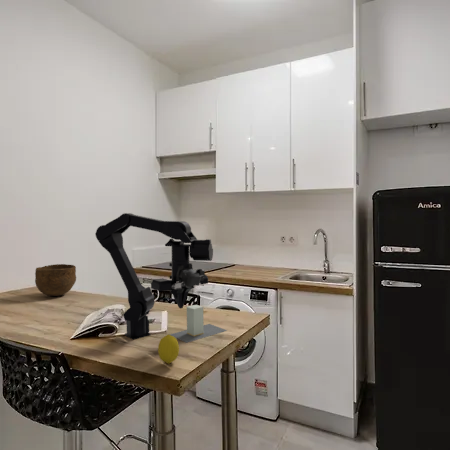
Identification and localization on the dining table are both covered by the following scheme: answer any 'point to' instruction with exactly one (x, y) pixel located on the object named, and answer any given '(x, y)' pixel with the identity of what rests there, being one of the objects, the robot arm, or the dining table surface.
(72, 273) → the bowl
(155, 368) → the dining table surface
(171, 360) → the lemon
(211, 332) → the mat
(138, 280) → the robot arm
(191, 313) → the block
